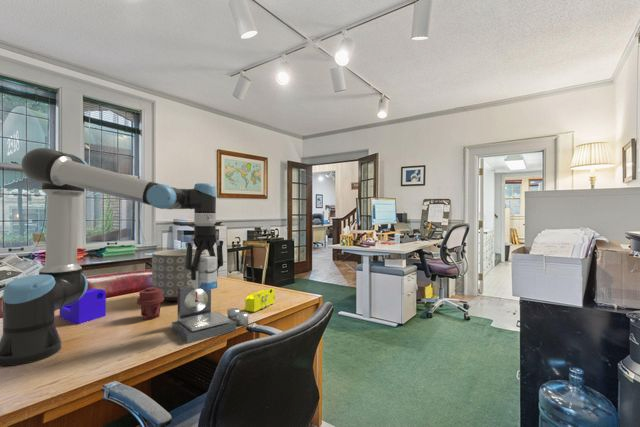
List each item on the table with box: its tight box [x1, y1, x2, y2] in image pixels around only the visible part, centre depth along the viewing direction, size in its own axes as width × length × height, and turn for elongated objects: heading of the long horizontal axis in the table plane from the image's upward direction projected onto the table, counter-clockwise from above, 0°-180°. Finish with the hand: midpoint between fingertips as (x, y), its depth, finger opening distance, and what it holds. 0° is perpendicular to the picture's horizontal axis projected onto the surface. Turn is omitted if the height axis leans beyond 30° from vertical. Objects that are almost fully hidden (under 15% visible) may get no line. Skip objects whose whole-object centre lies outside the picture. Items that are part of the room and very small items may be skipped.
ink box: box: [193, 255, 218, 291], centre depth 116 cm, size 8×5×12 cm, turn 57°
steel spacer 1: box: [226, 307, 241, 321], centre depth 129 cm, size 5×5×4 cm
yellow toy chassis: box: [244, 287, 276, 313], centre depth 145 cm, size 16×6×8 cm, turn 154°
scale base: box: [171, 285, 237, 344], centre depth 117 cm, size 18×19×15 cm
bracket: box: [59, 288, 107, 325], centre depth 130 cm, size 18×11×12 cm, turn 72°
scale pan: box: [179, 310, 230, 331], centre depth 116 cm, size 14×13×1 cm
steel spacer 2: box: [235, 311, 249, 327], centre depth 124 cm, size 5×5×4 cm
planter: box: [151, 248, 207, 302], centre depth 160 cm, size 25×25×24 cm
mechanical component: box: [136, 286, 165, 321], centre depth 130 cm, size 12×10×10 cm
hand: (204, 286), depth 116 cm, fingers closed on ink box, 6 cm apart
